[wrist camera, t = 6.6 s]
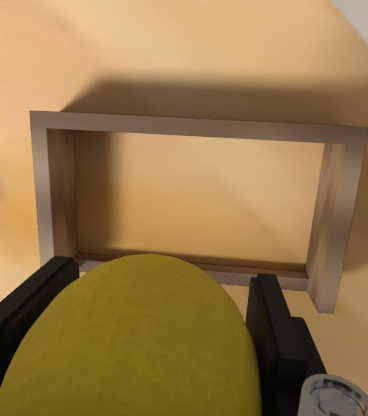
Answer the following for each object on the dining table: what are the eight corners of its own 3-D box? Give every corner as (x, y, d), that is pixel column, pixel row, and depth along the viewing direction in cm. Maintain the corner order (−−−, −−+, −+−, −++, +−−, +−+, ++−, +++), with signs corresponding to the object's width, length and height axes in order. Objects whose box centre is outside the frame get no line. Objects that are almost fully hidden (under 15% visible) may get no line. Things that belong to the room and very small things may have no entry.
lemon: (74, 225, 11) (-230, 457, 4) (239, 211, 11) (300, 457, 3) (103, 362, 13) (-71, 742, 5) (250, 357, 12) (312, 786, 4)
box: (316, 284, 26) (333, 314, 22) (66, 263, 27) (42, 287, 23) (343, 125, 23) (369, 127, 19) (59, 111, 24) (29, 110, 20)
